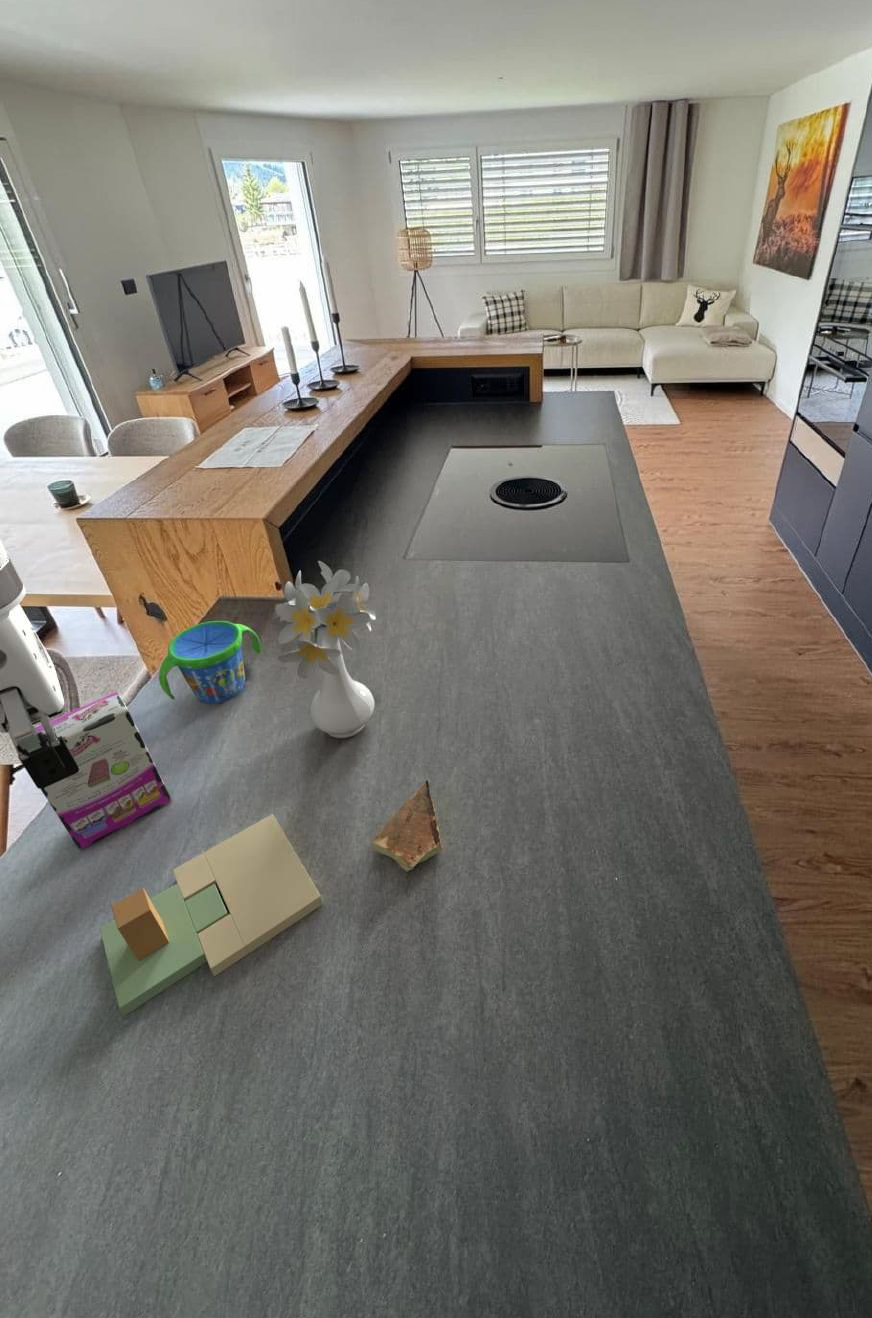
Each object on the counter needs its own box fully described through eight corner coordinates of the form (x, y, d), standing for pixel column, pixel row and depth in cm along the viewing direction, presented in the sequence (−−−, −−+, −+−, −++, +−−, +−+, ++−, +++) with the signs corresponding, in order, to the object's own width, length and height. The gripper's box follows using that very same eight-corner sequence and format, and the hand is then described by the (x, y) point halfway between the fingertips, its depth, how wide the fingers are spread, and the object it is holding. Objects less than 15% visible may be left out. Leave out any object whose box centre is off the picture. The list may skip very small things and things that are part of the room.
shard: (428, 787, 82) (427, 777, 81) (475, 813, 78) (474, 804, 78) (371, 848, 75) (369, 838, 74) (419, 880, 71) (418, 871, 70)
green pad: (124, 1015, 60) (95, 976, 56) (104, 935, 67) (77, 894, 63) (239, 940, 66) (221, 899, 62) (210, 873, 73) (191, 832, 69)
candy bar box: (161, 779, 85) (119, 688, 77) (173, 801, 82) (130, 709, 73) (70, 827, 79) (12, 734, 70) (78, 853, 76) (20, 759, 67)
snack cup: (254, 654, 108) (239, 605, 103) (281, 682, 102) (267, 632, 96) (161, 696, 100) (140, 646, 94) (184, 731, 93) (162, 679, 88)
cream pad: (214, 976, 63) (210, 968, 62) (176, 877, 73) (172, 869, 72) (323, 903, 69) (320, 895, 68) (275, 821, 79) (272, 813, 78)
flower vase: (304, 784, 84) (260, 634, 70) (304, 694, 99) (268, 557, 86) (400, 762, 86) (376, 614, 73) (385, 678, 101) (363, 543, 88)
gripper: (30, 621, 45) (115, 783, 54) (8, 538, 56) (81, 682, 65) (-102, 665, 41) (13, 831, 50) (-96, 566, 53) (-4, 715, 62)
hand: (51, 746), depth 58 cm, fingers open, 9 cm apart
